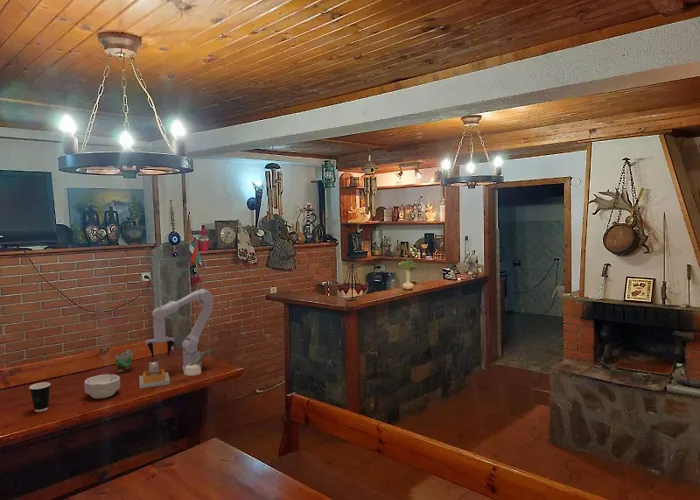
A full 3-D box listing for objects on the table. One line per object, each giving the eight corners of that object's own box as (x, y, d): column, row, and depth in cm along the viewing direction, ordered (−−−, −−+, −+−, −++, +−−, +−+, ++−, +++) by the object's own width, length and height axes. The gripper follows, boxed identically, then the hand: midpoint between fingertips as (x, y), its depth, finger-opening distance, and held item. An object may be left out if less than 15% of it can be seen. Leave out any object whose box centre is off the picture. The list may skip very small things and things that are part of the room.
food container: (127, 373, 270) (126, 355, 269) (116, 373, 270) (115, 355, 270) (137, 366, 283) (136, 349, 282) (126, 366, 283) (125, 349, 282)
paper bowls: (127, 390, 245) (127, 374, 244) (104, 402, 230) (103, 385, 230) (101, 388, 249) (100, 372, 248) (77, 399, 234) (76, 382, 234)
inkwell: (179, 374, 268) (179, 355, 268) (205, 365, 284) (204, 347, 283) (192, 377, 264) (191, 358, 263) (217, 367, 279) (216, 349, 278)
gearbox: (168, 375, 266) (167, 367, 266) (170, 384, 253) (169, 375, 253) (139, 379, 260) (138, 371, 260) (139, 388, 248) (139, 379, 247)
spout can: (157, 376, 260) (157, 360, 259) (160, 379, 254) (159, 364, 254) (148, 377, 257) (148, 362, 257) (151, 381, 252) (150, 365, 251)
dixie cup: (48, 404, 228) (47, 381, 228) (54, 409, 223) (52, 385, 222) (28, 410, 223) (26, 385, 222) (34, 414, 217) (32, 389, 216)
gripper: (173, 327, 275) (174, 352, 276) (144, 330, 269) (145, 355, 270) (174, 330, 268) (175, 355, 269) (144, 333, 263) (146, 359, 264)
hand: (160, 356), depth 269 cm, fingers open, 7 cm apart
